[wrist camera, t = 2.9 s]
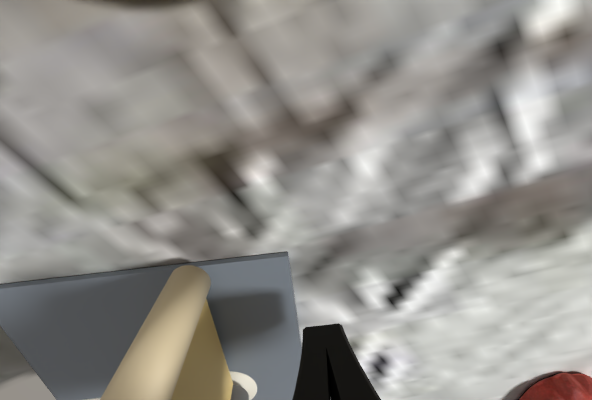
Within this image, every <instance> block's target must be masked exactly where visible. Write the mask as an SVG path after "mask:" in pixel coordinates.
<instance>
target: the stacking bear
mask: <svg viewBox="0 0 592 400" xmlns="http://www.w3.org/2000/svg"><path fill="white" fill-rule="evenodd" d="M519 400H592V378H591V377H589V376H587V375H585V374H579V373H576V374H569V373H559V374H556V375H554V376H551V377H548V378H545V379H543V380H541V381H539V382H537V383H536V384H534V385H533V386H531V387H530V388H529V389H528V390H527V391H526V392H525V393H524V394H523V395H522V397H521V398H520V399H519Z"/></svg>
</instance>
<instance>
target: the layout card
mask: <svg viewBox="0 0 592 400" xmlns="http://www.w3.org/2000/svg"><path fill="white" fill-rule="evenodd" d="M184 265H192V266H196V267H199V268H201V269H203V270H204V271H205V272H206V273H207V274H208V275H209V277H210V280H211V286H210V289H209V292H208V295H207V297H206V299H207V302H208V306H209V309H210V312H211V315H212V318H213V321H214V325H215V328H216V331H217V334H218V337H219V340H220V344H221V347H222V350H223V353H224V356H225V359H226V363H227V366H228V369H229V372H230V375H231V378H232V382H233V385H237V386H240V387H242V388H244V389H245V390H246V391H247V392H248V394H249V400H292V399H293V395H294V391H295V386H296V381H297V376H298V372H299V366H300V360H301V353H302V348H301V341H300V334H299V327H298V320H297V312H296V305H295V298H294V291H293V284H292V277H291V270H290V263H289V256H288V252H283V253H274V254H265V255H256V256H247V257H238V258H230V259H221V260H212V261H203V262H194V263H185V264H177V265H168V266H159V267H150V268H141V269H132V270H124V271H115V272H106V273H97V274H88V275H79V276H71V277H62V278H53V279H44V280H35V281H26V282H18V283H9V284H0V326H1V327H2V329H3V330H4V331H5V333H6V334H7V335H8V337H9V338H10V339H11V341H12V342H13V343H14V344H15V346H16V347H17V348H18V350H19V351H20V352H21V354H22V355H23V356H24V358H25V359H26V360H27V361H28V363H29V364H30V365H31V367H32V368H33V369H34V371H35V372H36V373H37V375H38V376H39V377H40V378H41V380H42V381H43V382H44V384H45V385H46V386H47V388H48V389H49V390H50V392H51V393H52V394H53V396H54V397H55V398H56V399H57V400H100V399H101V397H102V395H103V393H104V392H105V390H106V388H107V386H108V385H109V383H110V381H111V379H112V377H113V376H114V374H115V372H116V370H117V369H118V367H119V365H120V363H121V362H122V360H123V358H124V356H125V355H126V353H127V351H128V349H129V348H130V346H131V344H132V342H133V340H134V339H135V337H136V335H137V333H138V332H139V330H140V328H141V326H142V325H143V323H144V321H145V319H146V318H147V316H148V314H149V312H150V311H151V309H152V307H153V305H154V304H155V302H156V300H157V298H158V296H159V295H160V293H161V291H162V289H163V288H164V286H165V284H166V282H167V281H168V279H169V277H170V275H171V274H172V272H173V271H174V270H175V269H176V268H178V267H180V266H184Z"/></svg>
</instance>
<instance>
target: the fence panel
mask: <svg viewBox="0 0 592 400" xmlns="http://www.w3.org/2000/svg"><path fill="white" fill-rule="evenodd" d="M210 286H211V280H210V277H209V275H208V274H207V273H206V272H205V271H204V270H203V269H201V268H199V267H196V266H192V265H184V266H180V267H178V268H176V269H175V270H174V271H173V272H172V274H171V275H170V277H169V279H168V281H167V282H166V284H165V286H164V288H163V289H162V291H161V293H160V295H159V296H158V298H157V300H156V302H155V304H154V305H153V307H152V309H151V311H150V312H149V314H148V316H147V318H146V319H145V321H144V323H143V325H142V326H141V328H140V330H139V332H138V333H137V335H136V337H135V339H134V340H133V342H132V344H131V346H130V348H129V349H128V351H127V353H126V355H125V356H124V358H123V360H122V362H121V363H120V365H119V367H118V369H117V370H116V372H115V374H114V376H113V377H112V379H111V381H110V383H109V385H108V386H107V388H106V390H105V392H104V393H103V395H102V397H101V399H100V400H249V394H248V392H247V391H246V390H245V389H244V388H242V387H240V386H237V385H233V382H232V378H231V375H230V372H229V369H228V366H227V363H226V359H225V356H224V353H223V350H222V347H221V344H220V340H219V337H218V334H217V331H216V328H215V325H214V321H213V318H212V315H211V312H210V309H209V306H208V302H207V299H206V297H207V295H208V292H209V289H210Z"/></svg>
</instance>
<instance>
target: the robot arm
mask: <svg viewBox="0 0 592 400" xmlns="http://www.w3.org/2000/svg"><path fill="white" fill-rule="evenodd" d="M330 396H331V400H381V399H380V397H379V396H378V394H377V393H376V391H375V389H374V388H373V386H372V384H371V383H370V381H369V379H368V377H367V376H366V374H365V372H364V371H363V369H362V367H361V365H360V363H359V362H358V360H357V358H356V356H355V354H354V352H353V350H352V348H351V346H350V344H349V342H348V339H347V337H346V335H345V332H344V330H343V327H342V325H340V324H331V325H322V326H313V327H306V328H305V329H303V344H302V353H301V360H300V366H299V372H298V376H297V381H296V386H295V391H294V395H293V399H292V400H330Z"/></svg>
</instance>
